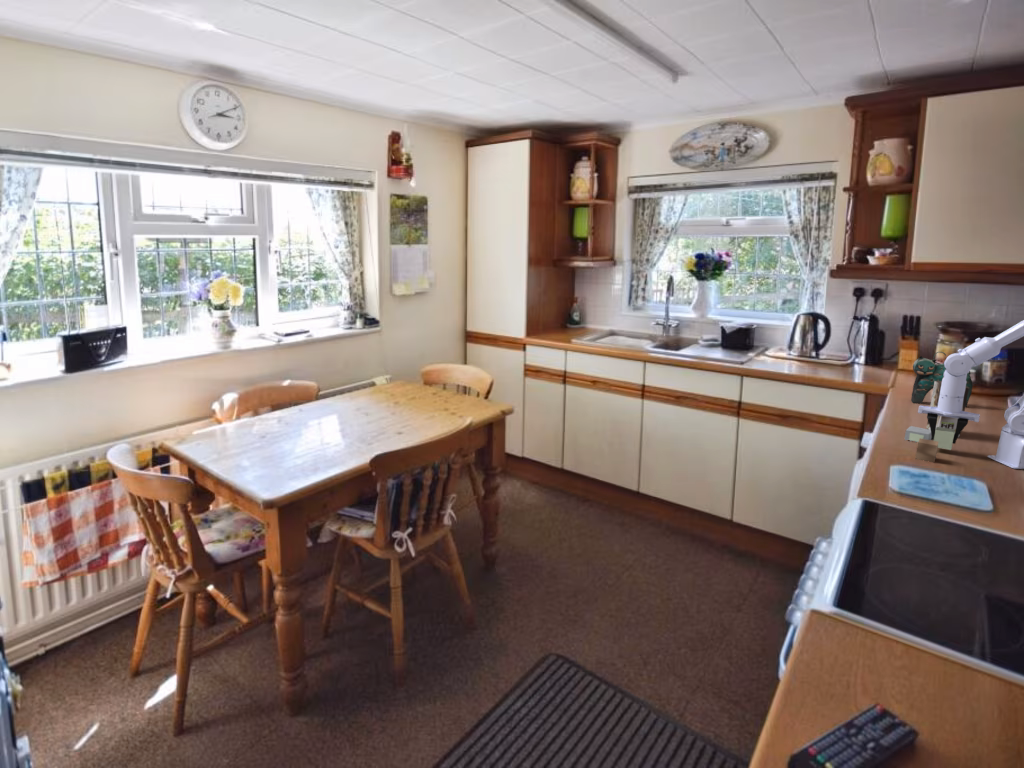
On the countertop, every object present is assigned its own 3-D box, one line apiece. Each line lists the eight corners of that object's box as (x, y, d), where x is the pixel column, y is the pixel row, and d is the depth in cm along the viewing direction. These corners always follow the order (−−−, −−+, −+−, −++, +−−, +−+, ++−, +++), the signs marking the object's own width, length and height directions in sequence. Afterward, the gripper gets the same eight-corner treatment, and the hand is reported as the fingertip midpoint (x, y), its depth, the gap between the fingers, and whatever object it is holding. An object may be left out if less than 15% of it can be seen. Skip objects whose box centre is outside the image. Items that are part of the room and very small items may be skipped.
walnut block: (935, 458, 179) (938, 441, 178) (934, 462, 176) (937, 445, 174) (916, 455, 182) (919, 438, 181) (915, 459, 178) (918, 442, 177)
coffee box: (960, 437, 198) (970, 387, 195) (937, 436, 200) (946, 386, 196) (947, 429, 207) (956, 381, 203) (925, 427, 208) (934, 379, 205)
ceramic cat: (909, 403, 239) (918, 351, 234) (904, 399, 245) (913, 348, 240) (970, 408, 233) (981, 355, 229) (964, 404, 239) (974, 352, 235)
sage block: (952, 446, 186) (955, 429, 184) (951, 449, 182) (954, 433, 181) (933, 442, 188) (936, 426, 187) (932, 446, 185) (935, 430, 184)
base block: (931, 441, 195) (933, 430, 194) (926, 445, 191) (928, 434, 190) (908, 436, 199) (910, 425, 198) (903, 441, 195) (905, 430, 194)
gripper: (920, 394, 183) (912, 439, 186) (982, 402, 174) (973, 449, 177) (922, 389, 188) (915, 433, 191) (983, 397, 180) (974, 443, 183)
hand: (943, 440), depth 185 cm, fingers closed on sage block, 4 cm apart
